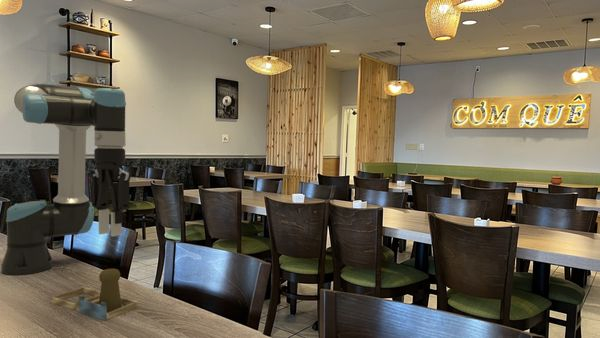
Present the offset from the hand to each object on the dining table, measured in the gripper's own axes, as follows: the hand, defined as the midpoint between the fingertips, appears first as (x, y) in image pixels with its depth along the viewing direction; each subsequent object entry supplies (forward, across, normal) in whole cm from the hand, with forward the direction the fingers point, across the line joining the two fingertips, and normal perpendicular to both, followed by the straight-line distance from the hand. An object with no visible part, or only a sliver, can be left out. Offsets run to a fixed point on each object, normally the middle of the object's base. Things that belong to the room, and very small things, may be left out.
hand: (110, 234), depth 114 cm
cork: (+21, 0, 0) cm, 21 cm away
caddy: (+21, -6, 0) cm, 22 cm away
